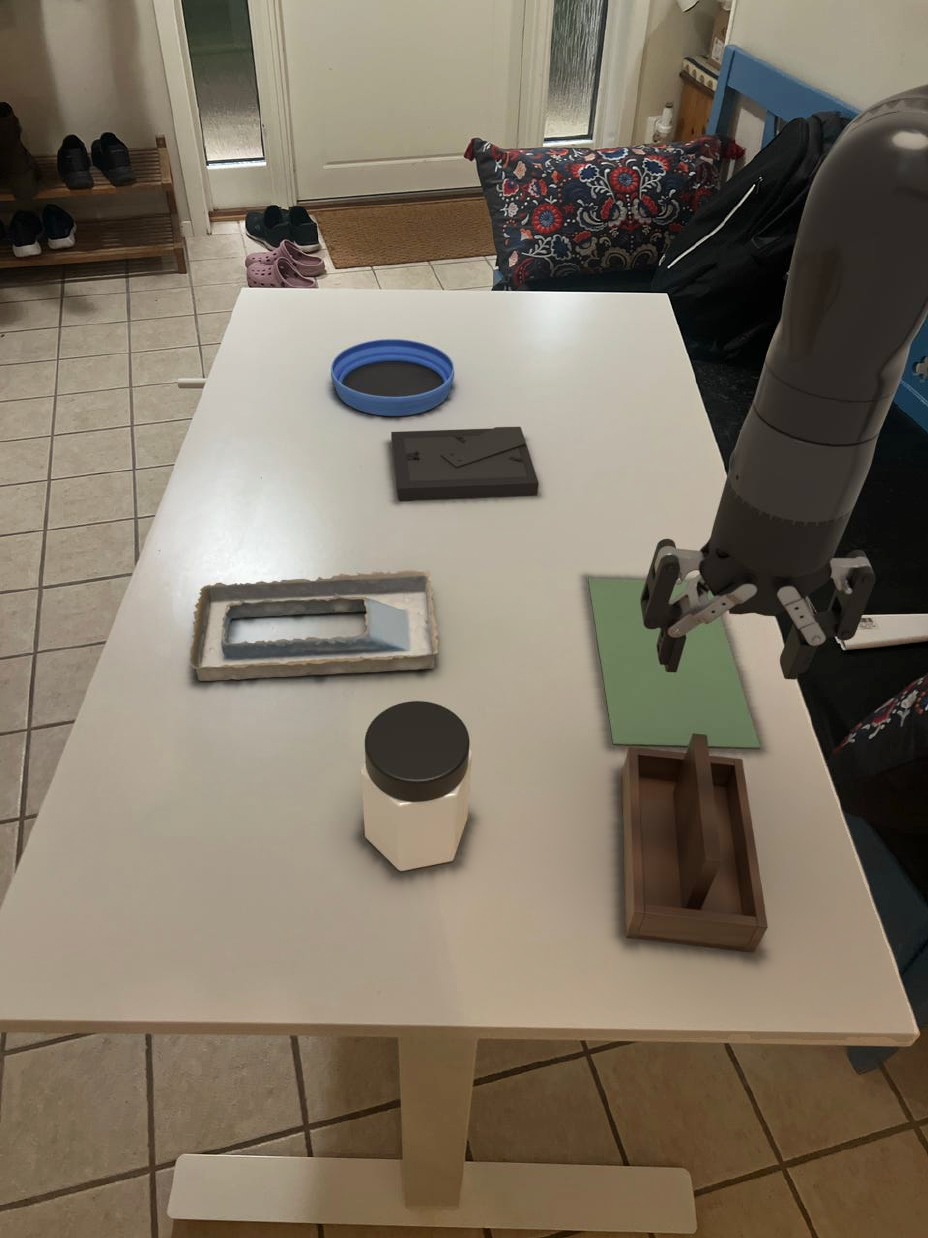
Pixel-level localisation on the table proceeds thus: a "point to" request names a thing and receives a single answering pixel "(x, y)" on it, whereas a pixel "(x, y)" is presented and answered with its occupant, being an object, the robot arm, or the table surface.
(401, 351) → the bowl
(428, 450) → the picture frame
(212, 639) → the picture frame
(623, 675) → the mat
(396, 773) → the jar
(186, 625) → the table surface
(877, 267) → the robot arm
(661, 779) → the cutlery caddy
